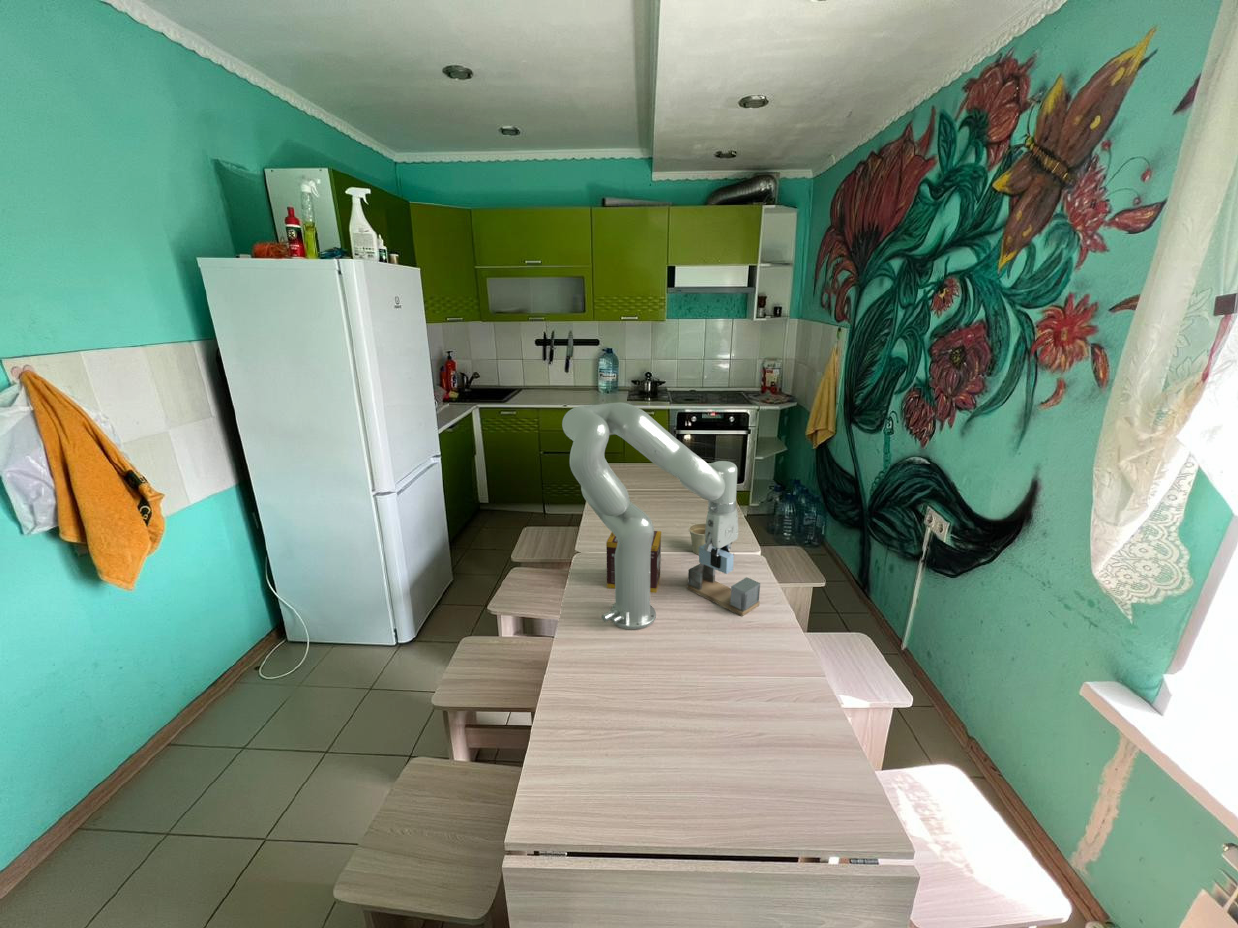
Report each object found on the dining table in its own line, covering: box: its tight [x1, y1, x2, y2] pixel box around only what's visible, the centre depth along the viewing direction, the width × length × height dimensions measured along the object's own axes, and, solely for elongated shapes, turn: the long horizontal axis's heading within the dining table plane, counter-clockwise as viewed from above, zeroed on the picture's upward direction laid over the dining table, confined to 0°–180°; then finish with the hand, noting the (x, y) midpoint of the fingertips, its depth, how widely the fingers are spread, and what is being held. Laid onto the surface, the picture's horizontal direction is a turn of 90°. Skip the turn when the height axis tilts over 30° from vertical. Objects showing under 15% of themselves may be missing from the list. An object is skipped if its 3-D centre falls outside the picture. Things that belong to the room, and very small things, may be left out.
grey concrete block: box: [730, 577, 761, 611], centre depth 145 cm, size 4×7×6 cm, turn 132°
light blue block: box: [698, 544, 735, 575], centre depth 151 cm, size 10×3×5 cm, turn 42°
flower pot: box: [688, 522, 706, 556], centre depth 178 cm, size 9×9×9 cm
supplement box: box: [605, 530, 662, 594], centre depth 158 cm, size 10×15×16 cm
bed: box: [686, 563, 760, 617], centre depth 151 cm, size 20×8×6 cm, turn 42°
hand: (719, 563), depth 150 cm, fingers closed on light blue block, 3 cm apart
